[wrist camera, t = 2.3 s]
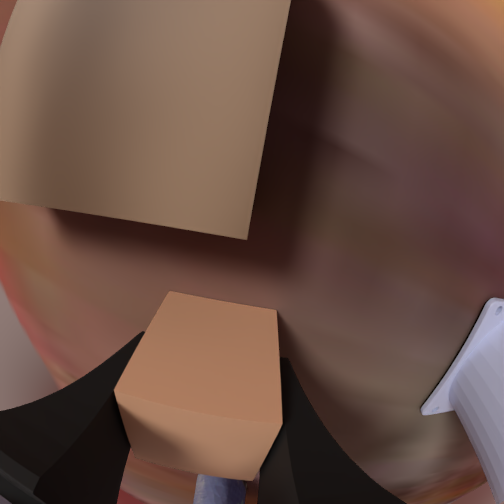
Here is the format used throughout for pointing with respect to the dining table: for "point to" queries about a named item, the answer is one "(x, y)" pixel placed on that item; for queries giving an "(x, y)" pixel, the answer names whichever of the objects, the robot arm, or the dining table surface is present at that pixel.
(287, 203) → the dining table surface
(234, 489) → the flask
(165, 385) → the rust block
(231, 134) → the base
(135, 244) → the dining table surface
